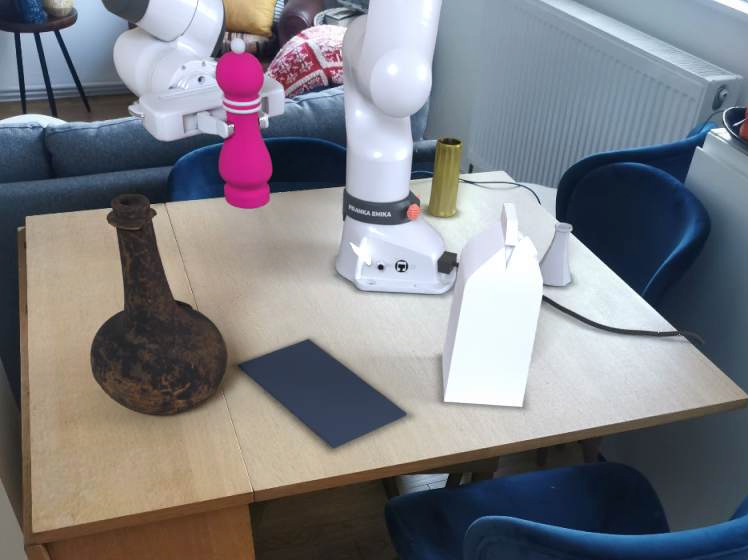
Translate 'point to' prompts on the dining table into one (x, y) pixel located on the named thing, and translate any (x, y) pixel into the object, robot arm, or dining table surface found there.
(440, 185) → the vase
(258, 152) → the pepper mill
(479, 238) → the milk
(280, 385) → the mat
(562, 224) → the flask
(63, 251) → the dining table surface
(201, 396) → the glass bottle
